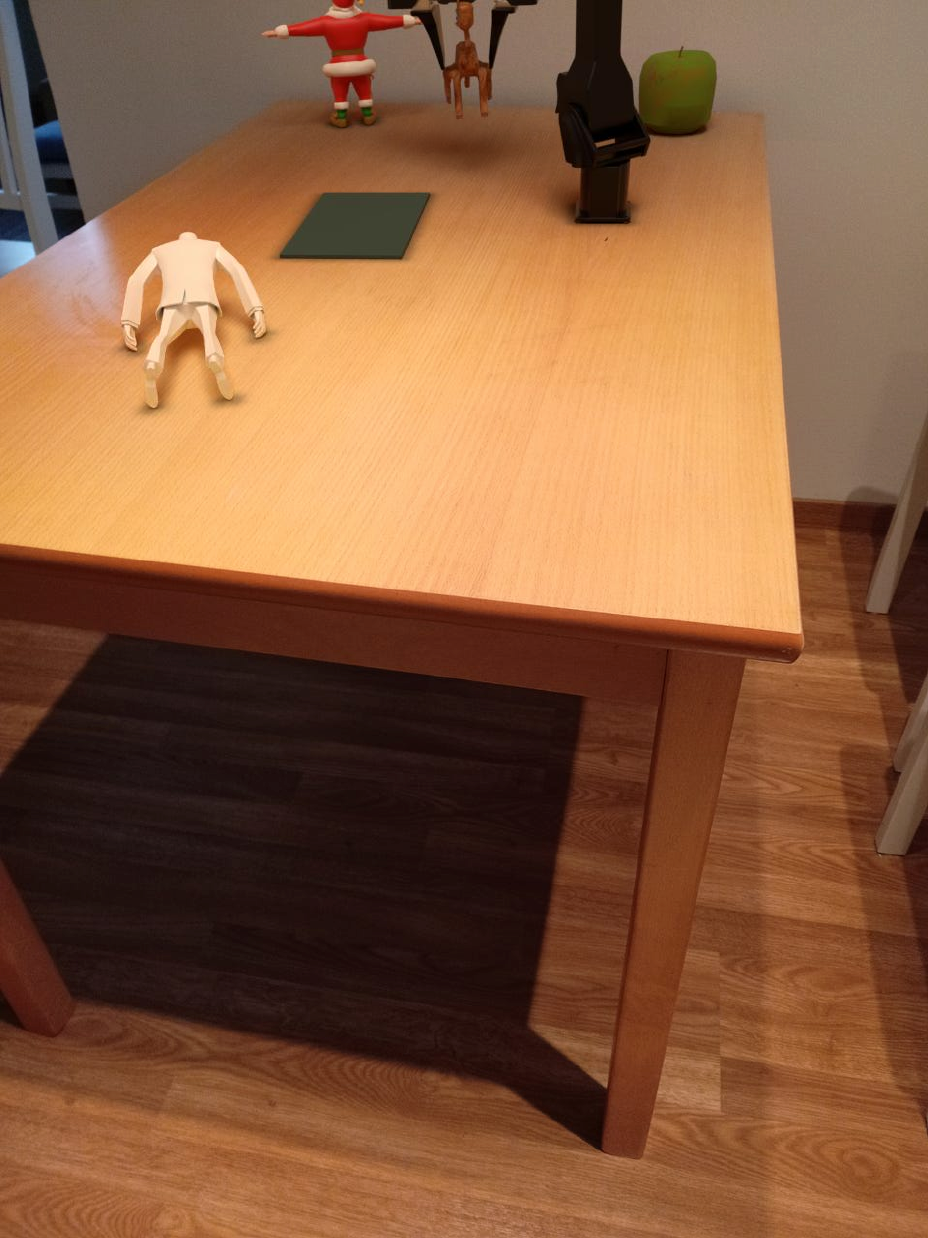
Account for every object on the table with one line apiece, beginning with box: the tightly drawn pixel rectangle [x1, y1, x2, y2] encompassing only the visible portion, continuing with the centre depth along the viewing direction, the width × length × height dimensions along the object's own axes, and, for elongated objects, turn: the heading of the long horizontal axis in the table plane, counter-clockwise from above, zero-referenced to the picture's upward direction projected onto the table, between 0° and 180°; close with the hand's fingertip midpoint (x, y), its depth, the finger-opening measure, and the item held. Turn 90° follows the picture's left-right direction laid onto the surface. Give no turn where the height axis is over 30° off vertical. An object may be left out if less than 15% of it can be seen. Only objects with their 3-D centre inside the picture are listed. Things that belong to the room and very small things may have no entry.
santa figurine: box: [261, 0, 423, 129], centre depth 148 cm, size 25×6×19 cm, turn 103°
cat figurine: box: [441, 0, 493, 120], centre depth 126 cm, size 18×7×14 cm, turn 2°
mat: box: [279, 192, 431, 260], centre depth 118 cm, size 22×14×1 cm, turn 173°
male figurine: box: [120, 231, 267, 409], centre depth 92 cm, size 14×6×25 cm
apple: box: [638, 45, 718, 135], centre depth 142 cm, size 11×11×11 cm
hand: (466, 68), depth 128 cm, fingers closed on cat figurine, 6 cm apart
